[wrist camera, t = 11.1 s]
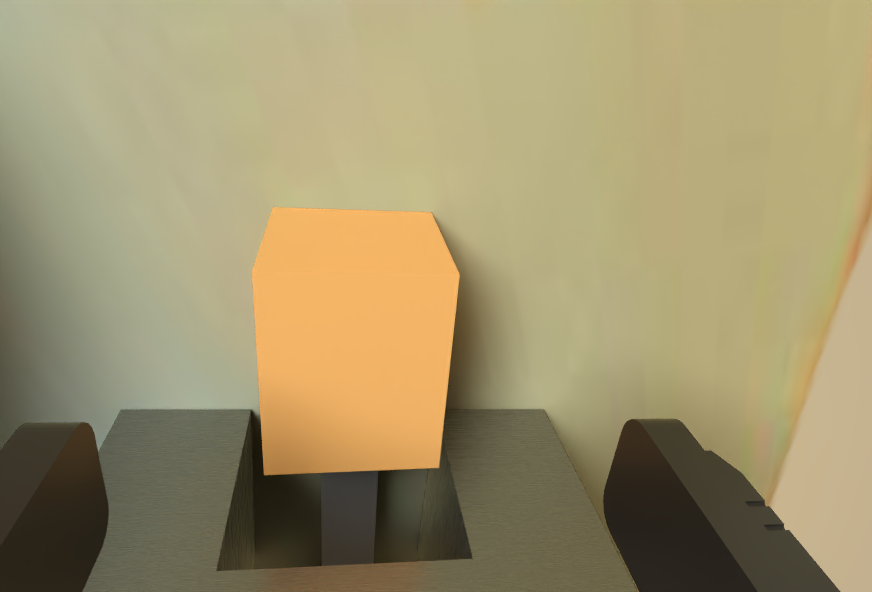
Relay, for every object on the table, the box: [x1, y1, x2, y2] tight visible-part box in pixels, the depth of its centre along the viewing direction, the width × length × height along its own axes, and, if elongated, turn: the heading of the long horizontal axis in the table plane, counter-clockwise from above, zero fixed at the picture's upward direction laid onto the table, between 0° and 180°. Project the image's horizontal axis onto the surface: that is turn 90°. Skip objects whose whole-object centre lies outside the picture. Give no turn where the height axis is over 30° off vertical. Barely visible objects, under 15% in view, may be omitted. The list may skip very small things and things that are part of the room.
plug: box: [252, 207, 460, 566], centre depth 17 cm, size 4×16×4 cm, turn 175°
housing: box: [83, 410, 637, 592], centre depth 16 cm, size 12×6×7 cm, turn 83°
